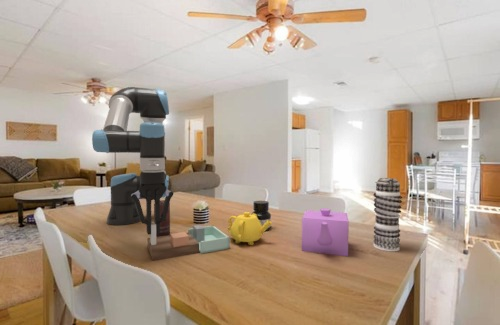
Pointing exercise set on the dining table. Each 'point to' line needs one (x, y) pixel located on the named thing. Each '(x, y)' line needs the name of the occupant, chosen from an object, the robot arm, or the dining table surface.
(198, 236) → the grey square block
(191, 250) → the plate
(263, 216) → the ink bottle
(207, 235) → the tray
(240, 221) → the teapot
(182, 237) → the terracotta tile
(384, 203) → the decorative candle
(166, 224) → the can
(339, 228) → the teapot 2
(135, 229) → the dining table surface
